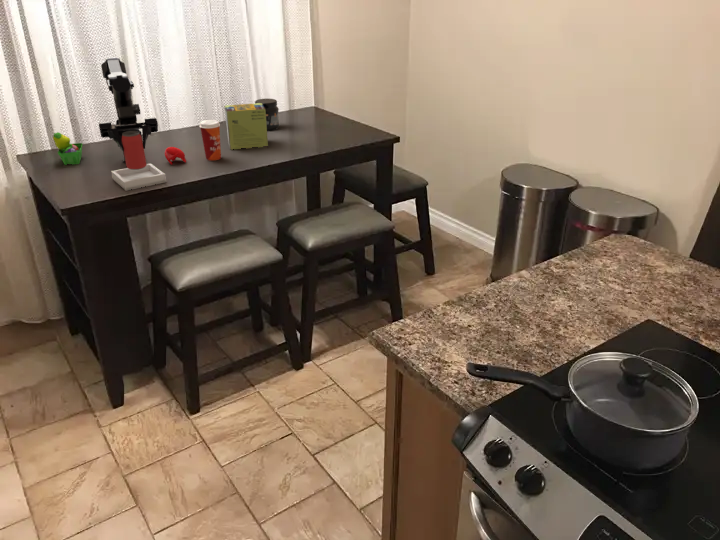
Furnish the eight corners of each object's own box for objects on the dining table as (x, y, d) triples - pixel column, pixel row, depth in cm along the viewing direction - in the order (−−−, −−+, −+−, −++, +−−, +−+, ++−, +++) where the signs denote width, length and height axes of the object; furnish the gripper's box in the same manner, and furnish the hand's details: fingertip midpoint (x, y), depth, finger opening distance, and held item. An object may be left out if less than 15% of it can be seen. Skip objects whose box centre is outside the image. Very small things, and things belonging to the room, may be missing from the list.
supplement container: (251, 127, 272) (249, 100, 267) (272, 123, 278) (270, 97, 272) (263, 132, 265) (261, 104, 259) (284, 128, 270) (282, 101, 265)
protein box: (268, 146, 247) (265, 108, 239) (230, 150, 243) (226, 111, 235) (264, 139, 255) (261, 102, 248) (227, 142, 251) (223, 105, 244)
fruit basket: (82, 164, 226) (75, 135, 221) (56, 166, 224) (49, 136, 219) (85, 155, 236) (79, 126, 231) (61, 157, 234) (54, 128, 228)
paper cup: (216, 162, 229) (212, 125, 222) (199, 160, 231) (194, 123, 225) (227, 156, 235) (223, 120, 229) (210, 154, 238) (206, 118, 231)
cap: (161, 157, 223) (174, 149, 222) (161, 148, 227) (174, 140, 226) (176, 171, 229) (189, 163, 228) (176, 161, 233) (188, 153, 232)
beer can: (139, 162, 213) (133, 129, 207) (150, 166, 210) (145, 132, 204) (122, 167, 209) (116, 133, 203) (134, 171, 205) (127, 137, 199)
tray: (112, 179, 213) (111, 171, 211) (151, 171, 220) (150, 163, 218) (125, 190, 203) (124, 182, 201) (166, 182, 210) (165, 173, 209)
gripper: (93, 98, 198) (102, 141, 194) (152, 93, 204) (162, 134, 201) (96, 116, 208) (105, 157, 204) (153, 111, 214) (162, 150, 211)
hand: (133, 149), depth 205 cm, fingers closed on beer can, 6 cm apart
